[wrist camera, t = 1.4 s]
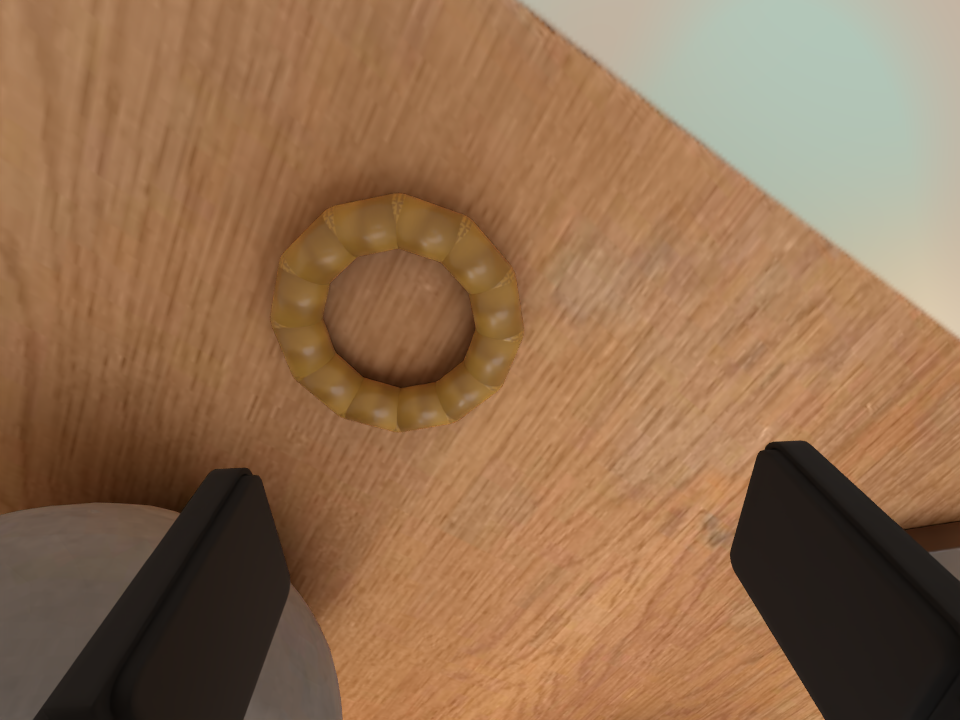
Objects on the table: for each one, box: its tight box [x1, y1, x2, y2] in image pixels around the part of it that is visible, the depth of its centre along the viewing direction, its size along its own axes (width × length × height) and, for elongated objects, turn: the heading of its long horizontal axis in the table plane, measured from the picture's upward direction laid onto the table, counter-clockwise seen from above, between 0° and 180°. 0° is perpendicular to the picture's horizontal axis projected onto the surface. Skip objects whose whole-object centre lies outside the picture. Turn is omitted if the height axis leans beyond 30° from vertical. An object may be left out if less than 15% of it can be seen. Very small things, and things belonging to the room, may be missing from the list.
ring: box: [270, 193, 524, 432], centre depth 18 cm, size 9×9×2 cm
